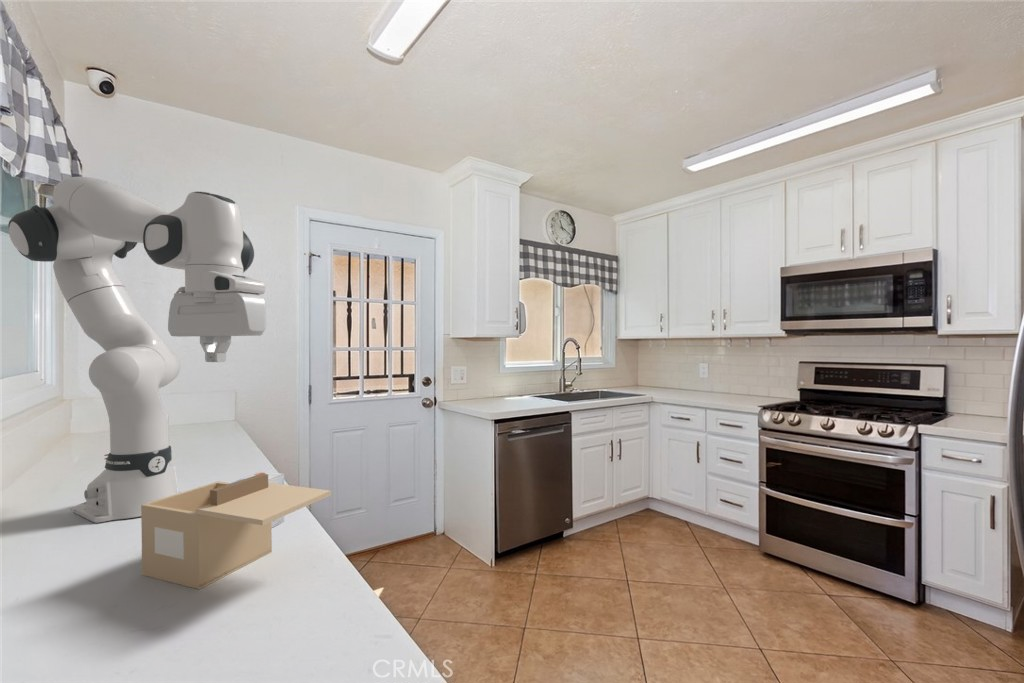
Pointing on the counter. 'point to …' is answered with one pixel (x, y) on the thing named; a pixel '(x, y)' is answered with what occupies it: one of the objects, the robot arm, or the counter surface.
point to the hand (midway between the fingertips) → (215, 362)
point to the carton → (197, 540)
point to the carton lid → (258, 500)
